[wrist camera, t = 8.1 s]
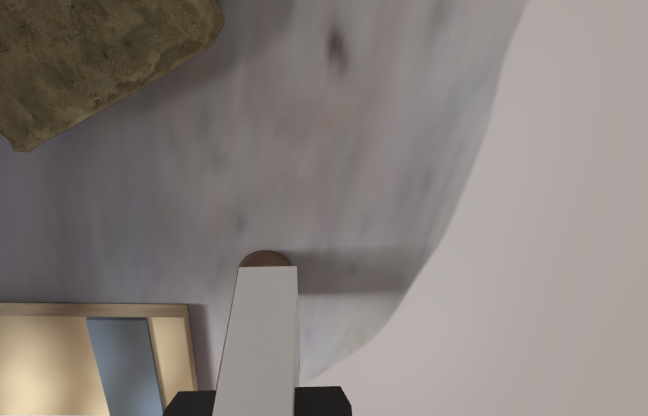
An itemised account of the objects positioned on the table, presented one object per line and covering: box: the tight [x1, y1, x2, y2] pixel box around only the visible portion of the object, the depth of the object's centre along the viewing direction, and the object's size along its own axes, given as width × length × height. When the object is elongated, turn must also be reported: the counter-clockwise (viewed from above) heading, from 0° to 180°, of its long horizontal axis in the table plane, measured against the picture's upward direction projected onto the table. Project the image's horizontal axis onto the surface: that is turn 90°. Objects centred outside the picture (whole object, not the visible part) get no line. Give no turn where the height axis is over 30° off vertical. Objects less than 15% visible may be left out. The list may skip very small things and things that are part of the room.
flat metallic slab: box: [0, 303, 198, 416], centre depth 30 cm, size 16×34×2 cm, turn 178°
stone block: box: [0, 0, 224, 152], centre depth 24 cm, size 6×12×5 cm, turn 119°
